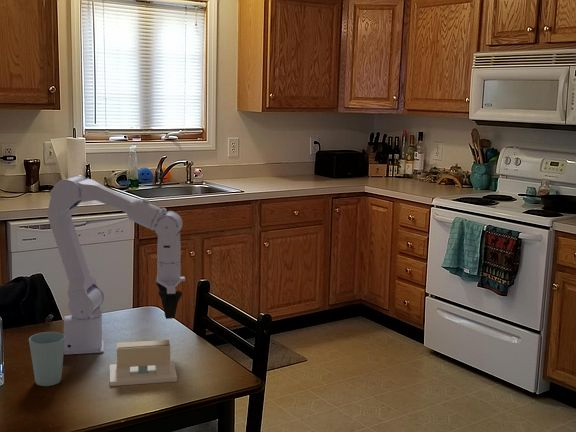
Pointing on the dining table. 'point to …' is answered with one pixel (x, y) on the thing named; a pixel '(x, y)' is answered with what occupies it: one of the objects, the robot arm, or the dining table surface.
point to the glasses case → (143, 353)
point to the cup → (47, 357)
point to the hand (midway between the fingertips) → (168, 313)
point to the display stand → (142, 374)
